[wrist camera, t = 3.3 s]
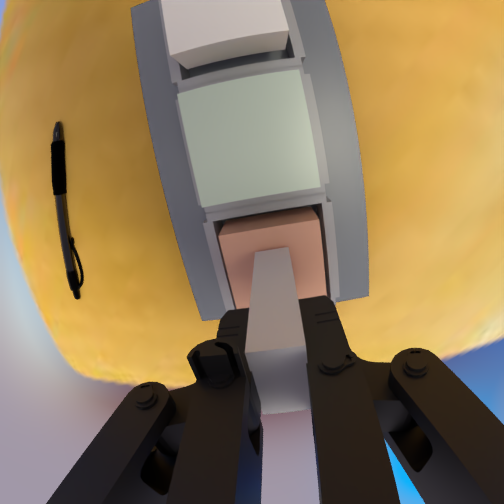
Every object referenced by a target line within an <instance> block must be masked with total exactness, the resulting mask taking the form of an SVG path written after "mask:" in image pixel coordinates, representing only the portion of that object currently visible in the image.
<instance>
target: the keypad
mask: <svg viewBox="0 0 504 504" xmlns="http://www.w3.org/2000/svg"><path fill="white" fill-rule="evenodd" d="M281 3H282V7H283V10H284V14H285V17H286V21H287V24H288V28H289V34H288V38H287V43H286V48H285V50H277V51H270V52H263V53H257V54H251V55H245V56H240V57H235V58H230V59H226V60H221V61H217V62H213V63H209V64H205V65H201V66H197V67H194V68H190V69H186V68H185V67H184V66H182V65H181V64H180V63H179V62H177V61H176V60H175V59H174V58H172V57H171V56H170V53H169V47H168V42H167V36H166V30H165V23H164V17H163V11H162V4H161V0H150V1H147V2H144V3H142V4H139V5H137V6H135V7H132V8H131V15H132V25H133V33H134V41H135V48H136V55H137V62H138V68H139V75H140V81H141V87H142V92H143V98H144V103H145V109H146V114H147V119H148V124H149V129H150V134H151V138H152V143H153V148H154V152H155V157H156V161H157V165H158V170H159V174H160V178H161V182H162V186H163V190H164V194H165V198H166V202H167V206H168V210H169V213H170V217H171V221H172V224H173V228H174V232H175V235H176V239H177V242H178V246H179V249H180V253H181V256H182V259H183V263H184V266H185V269H186V272H187V276H188V279H189V282H190V285H191V288H192V292H193V295H194V298H195V301H196V304H197V307H198V310H199V313H200V316H201V319H202V321H207V320H216V319H221V318H222V317H223V316H224V314H225V313H226V312H227V311H228V310H234V309H237V308H236V304H235V301H234V297H233V293H232V289H231V285H230V281H229V277H228V273H227V269H226V265H225V261H224V257H223V253H222V249H221V245H220V241H219V237H218V236H219V234H220V232H221V229H222V227H223V225H224V223H225V221H226V220H232V219H238V218H243V217H249V216H255V215H260V214H266V213H272V212H278V211H284V210H291V209H297V208H303V207H310V206H311V207H312V209H313V211H314V212H315V214H316V215H317V217H318V218H319V222H320V230H321V239H322V248H323V258H324V269H325V280H326V292H327V297H328V298H329V299H331V300H332V301H333V302H334V305H336V302H340V301H346V300H351V299H356V298H362V297H367V296H369V258H368V233H367V216H366V203H365V192H364V182H363V173H362V164H361V157H360V149H359V142H358V136H357V130H356V124H355V118H354V112H353V107H352V102H351V97H350V92H349V87H348V82H347V78H346V74H345V69H344V65H343V61H342V57H341V53H340V49H339V46H338V42H337V39H336V35H335V32H334V28H333V25H332V22H331V18H330V15H329V12H328V9H327V6H326V3H325V0H281ZM298 69H299V71H300V76H301V80H302V85H303V89H304V94H305V99H306V104H307V109H308V114H309V119H310V124H311V130H312V135H313V141H314V147H315V153H316V159H317V165H318V172H319V179H320V186H321V187H318V188H311V189H305V190H298V191H292V192H285V193H279V194H273V195H267V196H262V197H256V198H250V199H245V200H239V201H234V202H229V203H223V204H218V205H213V206H208V207H203V208H202V206H201V202H200V198H199V193H198V189H197V185H196V180H195V176H194V172H193V167H192V163H191V158H190V154H189V149H188V145H187V140H186V135H185V131H184V126H183V121H182V116H181V111H180V106H179V101H178V96H177V94H179V93H182V92H186V91H189V90H193V89H197V88H201V87H204V86H208V85H212V84H217V83H221V82H225V81H230V80H235V79H240V78H245V77H250V76H256V75H262V74H268V73H274V72H282V71H289V70H298Z"/></svg>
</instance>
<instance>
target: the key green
mask: <svg viewBox="0 0 504 504" xmlns="http://www.w3.org/2000/svg"><path fill="white" fill-rule="evenodd" d="M177 96H178V101H179V106H180V111H181V116H182V121H183V126H184V131H185V135H186V140H187V145H188V149H189V154H190V158H191V163H192V167H193V172H194V176H195V180H196V185H197V189H198V193H199V198H200V202H201V206H202V208H203V207H208V206H213V205H218V204H223V203H229V202H234V201H239V200H245V199H250V198H256V197H262V196H267V195H273V194H279V193H285V192H292V191H298V190H305V189H311V188H318V187H321V186H320V179H319V172H318V165H317V159H316V153H315V147H314V141H313V135H312V130H311V124H310V119H309V114H308V109H307V104H306V99H305V94H304V89H303V85H302V80H301V76H300V71H299V69H298V70H289V71H282V72H274V73H268V74H262V75H256V76H250V77H245V78H240V79H235V80H230V81H225V82H221V83H217V84H212V85H208V86H204V87H201V88H197V89H193V90H189V91H186V92H182V93H179V94H177Z"/></svg>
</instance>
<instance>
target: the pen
mask: <svg viewBox="0 0 504 504" xmlns="http://www.w3.org/2000/svg"><path fill="white" fill-rule="evenodd" d="M64 148H65V143H64V141H63V131H62V126H61V123H60V122H56V124H55V127H54V131H53V141H52V144H51V154H52V155H51V159H52V160H51V164H52V165H51V167H52V186H53V194H54V195H55V204H56V213H57V221H58V228H59V235H60V241H61V247H62V252H63V258H64V263H65V268H66V274H67V279H68V283H69V286H70V290H72V291H73V295H74V298H75V299H80V291H79V289H80V287H81V286H82V285H83V281H84V275H83V269H82V265H81V262H80V259H79V256H78V253H77V251H76V249H75V246H74V238H73V237H72V238H71V236H70V229H69V222H68V213H67V204H66V172H65V158H64V157H65V155H64ZM73 252H74V255H75V257H76V260H77V263H78V266H79V269H80V274H81V280H80V284H79V278H78V273H77V270H76V266H75V260H74V255H73Z"/></svg>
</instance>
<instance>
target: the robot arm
mask: <svg viewBox="0 0 504 504" xmlns="http://www.w3.org/2000/svg"><path fill="white" fill-rule="evenodd" d="M218 329H219V330H218V332H217V338H216V339H212V340H207V341H205V342H203V343H200V344H198V345H197V346H196V347H194V348H193V349H192V350H191V351H190V352H189V354H188V356H187V359H188V361H189V364H190V366H191V368H192V370H193V373H194V375H195V377H196V379H197V380H196V382H195V383H194V384H192V385H189V386H186V387H183V388H179V389H175V390H171V391H168V389H167V388H166V387H165V386H164V385H163V384H161V383H158V382H146V383H142V384H140V385H138V386H136V387H134V388H133V389H132V390H131V391H130V392H129V393H128V394H127V396H126V397H125V398H124V400H123V401H122V402H121V404H120V405H119V406H118V408H117V409H116V410H115V411H114V413H113V414H112V416H111V417H110V418H109V419H108V421H107V422H106V423H105V425H104V426H103V427H102V429H101V430H100V432H99V433H98V434H97V435H96V437H95V438H94V439H93V441H92V442H91V444H90V445H89V446H88V448H87V449H86V450H85V451H84V453H83V454H82V455H81V457H80V458H79V460H78V461H77V462H76V464H75V465H74V466H73V468H72V469H71V470H70V472H69V473H68V474H67V476H66V477H65V478H64V480H63V481H62V483H61V484H60V485H59V487H58V488H57V489H56V491H55V492H54V494H53V495H52V497H51V498H50V499H49V500H48V502H47V503H46V504H261V486H262V484H261V483H262V456H263V455H262V454H263V426H262V423H261V419H260V417H261V409H262V413H263V414H274V413H284V412H293V411H300V410H307V409H311V414H312V425H313V436H314V443H315V453H316V464H317V475H318V487H319V500H320V504H400V500H399V495H398V491H397V486H396V482H395V478H394V474H393V470H392V466H391V462H390V459H389V455H388V451H387V448H386V444H385V440H386V442H387V443H388V445H389V446H390V448H391V449H392V451H393V453H394V454H395V456H396V457H397V459H398V461H399V462H400V464H401V465H402V467H403V469H404V470H405V472H406V473H407V475H408V476H409V478H410V480H411V481H412V483H413V484H414V486H415V488H416V489H417V491H418V492H419V494H420V496H421V497H422V498H423V500H424V502H425V504H504V425H503V424H502V423H501V421H500V420H499V419H498V418H497V417H496V416H495V415H494V414H493V413H492V412H491V411H490V410H489V409H488V407H486V405H485V404H484V403H483V402H482V401H481V400H480V399H479V398H478V397H477V396H476V395H475V394H474V393H473V392H472V391H471V390H470V389H469V388H468V387H467V386H466V385H465V384H464V383H463V382H462V381H461V380H460V379H459V378H458V377H457V376H456V375H455V374H454V373H453V372H452V371H451V370H450V369H449V368H448V367H447V366H446V365H445V364H444V363H443V362H442V361H441V360H440V359H439V358H438V357H437V356H436V355H435V354H433V353H432V352H430V351H429V350H425V349H422V348H409V349H406V350H403V351H401V352H399V353H398V354H397V355H395V357H394V358H393V360H392V362H391V363H384V362H369V361H366V360H362V359H360V358H359V357H357V356H356V354H355V353H354V352H352V351H351V349H350V347H349V344H348V341H347V338H346V335H345V333H344V330H343V327H342V324H341V321H340V319H339V316H338V313H337V310H336V307H335V305H334V302H333V301H332V300H331V299H329V298H328V297H327V296H326V295H322V296H316V297H310V298H304V299H298V296H297V290H296V285H295V279H294V274H293V268H292V263H291V258H290V253H289V247H284V248H278V249H272V250H265V251H259V252H255V258H254V268H253V278H252V287H251V297H250V307H249V308H242V309H234V310H228V311H227V312H226V313H225V314H224V316H223V317H222V318H221V319H220V323H219V328H218ZM384 439H385V440H384Z"/></svg>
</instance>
